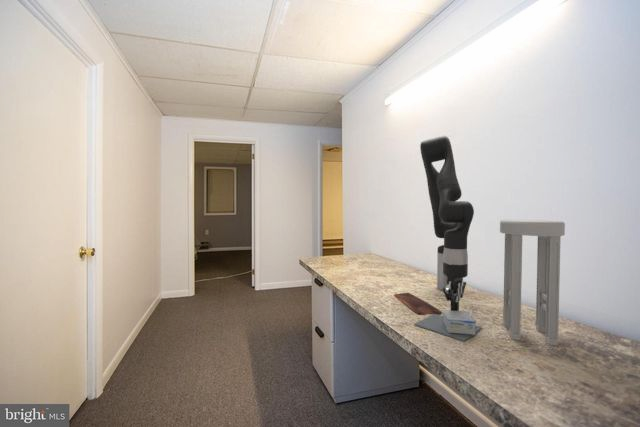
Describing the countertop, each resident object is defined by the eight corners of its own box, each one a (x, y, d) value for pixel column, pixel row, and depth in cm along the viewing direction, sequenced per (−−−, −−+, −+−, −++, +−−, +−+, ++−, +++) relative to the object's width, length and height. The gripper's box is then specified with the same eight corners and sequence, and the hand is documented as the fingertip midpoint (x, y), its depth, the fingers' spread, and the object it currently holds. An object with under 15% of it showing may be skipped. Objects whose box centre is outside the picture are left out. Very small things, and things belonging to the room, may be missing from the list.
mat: (434, 314, 107) (434, 313, 107) (482, 328, 95) (482, 327, 95) (414, 325, 97) (414, 323, 97) (464, 341, 86) (464, 340, 86)
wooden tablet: (390, 291, 132) (411, 288, 134) (390, 296, 132) (412, 293, 134) (417, 313, 106) (443, 308, 107) (418, 319, 106) (444, 314, 107)
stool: (504, 340, 86) (506, 221, 85) (494, 321, 101) (496, 219, 100) (570, 350, 81) (573, 222, 80) (550, 328, 95) (552, 220, 94)
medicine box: (443, 322, 99) (447, 333, 90) (443, 309, 99) (447, 319, 90) (469, 324, 97) (476, 335, 88) (469, 310, 97) (476, 321, 88)
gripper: (452, 256, 106) (452, 304, 106) (434, 262, 97) (434, 314, 98) (474, 259, 100) (474, 310, 101) (458, 266, 91) (457, 321, 92)
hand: (454, 312), depth 99 cm, fingers closed
